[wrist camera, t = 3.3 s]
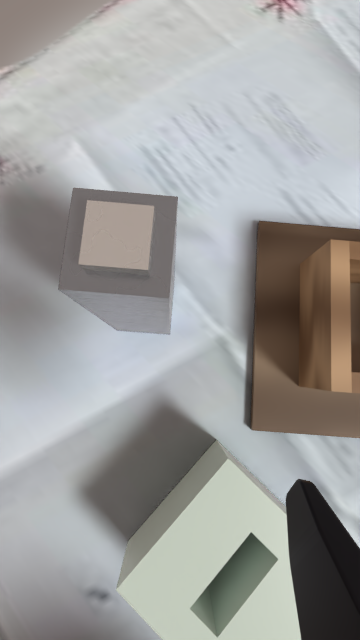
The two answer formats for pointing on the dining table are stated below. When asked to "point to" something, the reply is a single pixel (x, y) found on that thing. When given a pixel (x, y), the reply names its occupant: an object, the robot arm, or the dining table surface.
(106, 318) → the square bit
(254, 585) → the narrow slot block
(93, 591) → the dining table surface
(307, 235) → the square sleeve
